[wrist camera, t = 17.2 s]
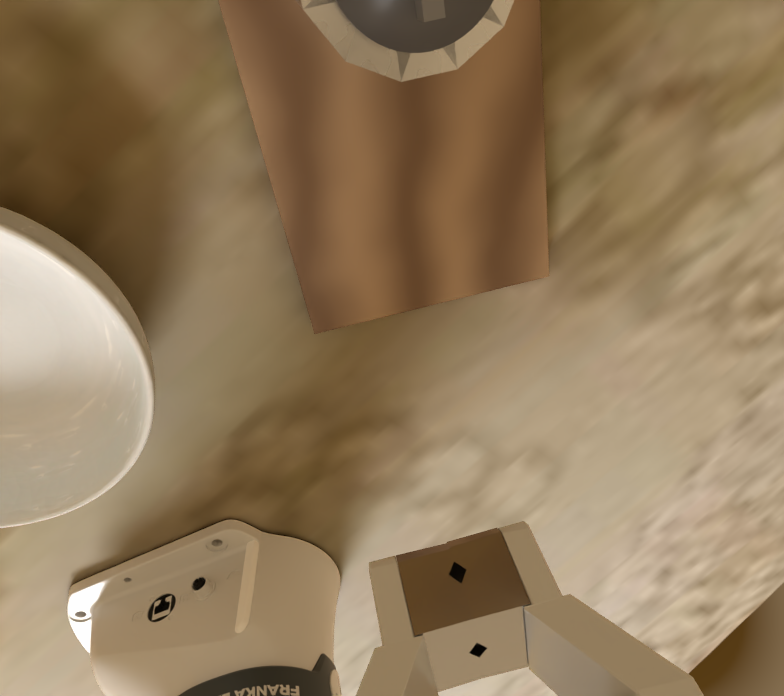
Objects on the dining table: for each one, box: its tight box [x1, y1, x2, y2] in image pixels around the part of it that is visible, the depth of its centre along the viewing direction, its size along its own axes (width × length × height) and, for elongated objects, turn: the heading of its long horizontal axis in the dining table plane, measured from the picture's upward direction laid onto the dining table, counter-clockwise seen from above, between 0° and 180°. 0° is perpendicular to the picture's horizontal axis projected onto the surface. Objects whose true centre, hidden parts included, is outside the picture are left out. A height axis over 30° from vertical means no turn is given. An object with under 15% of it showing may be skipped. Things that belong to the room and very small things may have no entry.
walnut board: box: [218, 0, 549, 334], centre depth 34 cm, size 16×26×2 cm, turn 10°
